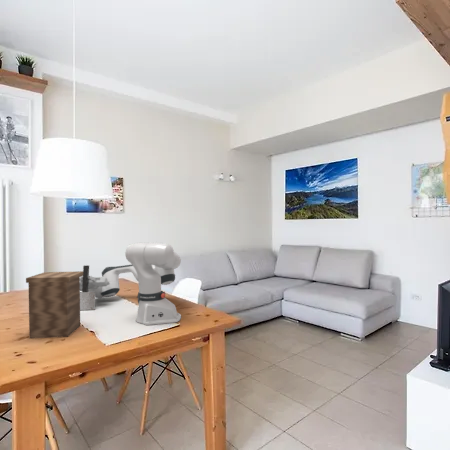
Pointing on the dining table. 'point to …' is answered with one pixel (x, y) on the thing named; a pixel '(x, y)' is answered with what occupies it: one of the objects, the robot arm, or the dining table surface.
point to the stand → (54, 304)
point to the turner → (86, 293)
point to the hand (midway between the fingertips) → (85, 277)
